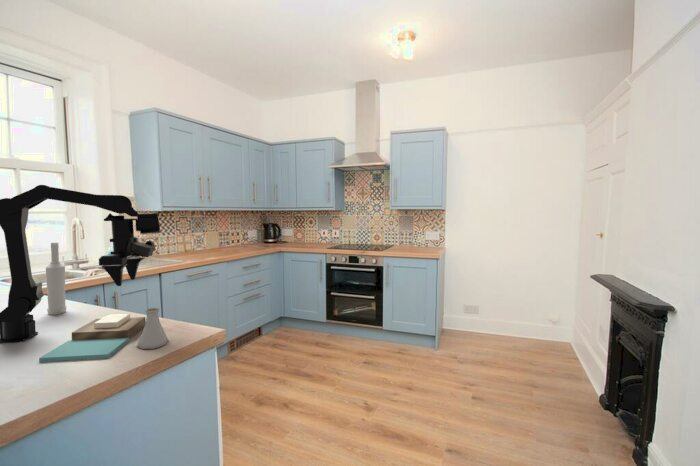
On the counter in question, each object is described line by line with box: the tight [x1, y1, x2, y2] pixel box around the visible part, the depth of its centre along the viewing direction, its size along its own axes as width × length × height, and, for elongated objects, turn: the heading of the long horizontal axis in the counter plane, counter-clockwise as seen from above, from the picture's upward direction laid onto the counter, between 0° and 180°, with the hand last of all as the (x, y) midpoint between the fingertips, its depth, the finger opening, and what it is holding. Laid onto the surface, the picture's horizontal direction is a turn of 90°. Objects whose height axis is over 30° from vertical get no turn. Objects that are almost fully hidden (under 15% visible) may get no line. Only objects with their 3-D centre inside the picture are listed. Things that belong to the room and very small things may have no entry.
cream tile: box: [94, 313, 131, 328], centre depth 100 cm, size 6×8×2 cm
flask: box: [136, 307, 169, 350], centre depth 91 cm, size 7×7×10 cm
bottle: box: [45, 241, 67, 316], centre depth 117 cm, size 5×5×25 cm
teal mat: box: [38, 338, 130, 363], centre depth 87 cm, size 15×11×1 cm
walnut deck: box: [71, 316, 146, 340], centre depth 99 cm, size 14×12×3 cm
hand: (126, 282), depth 108 cm, fingers open, 9 cm apart
